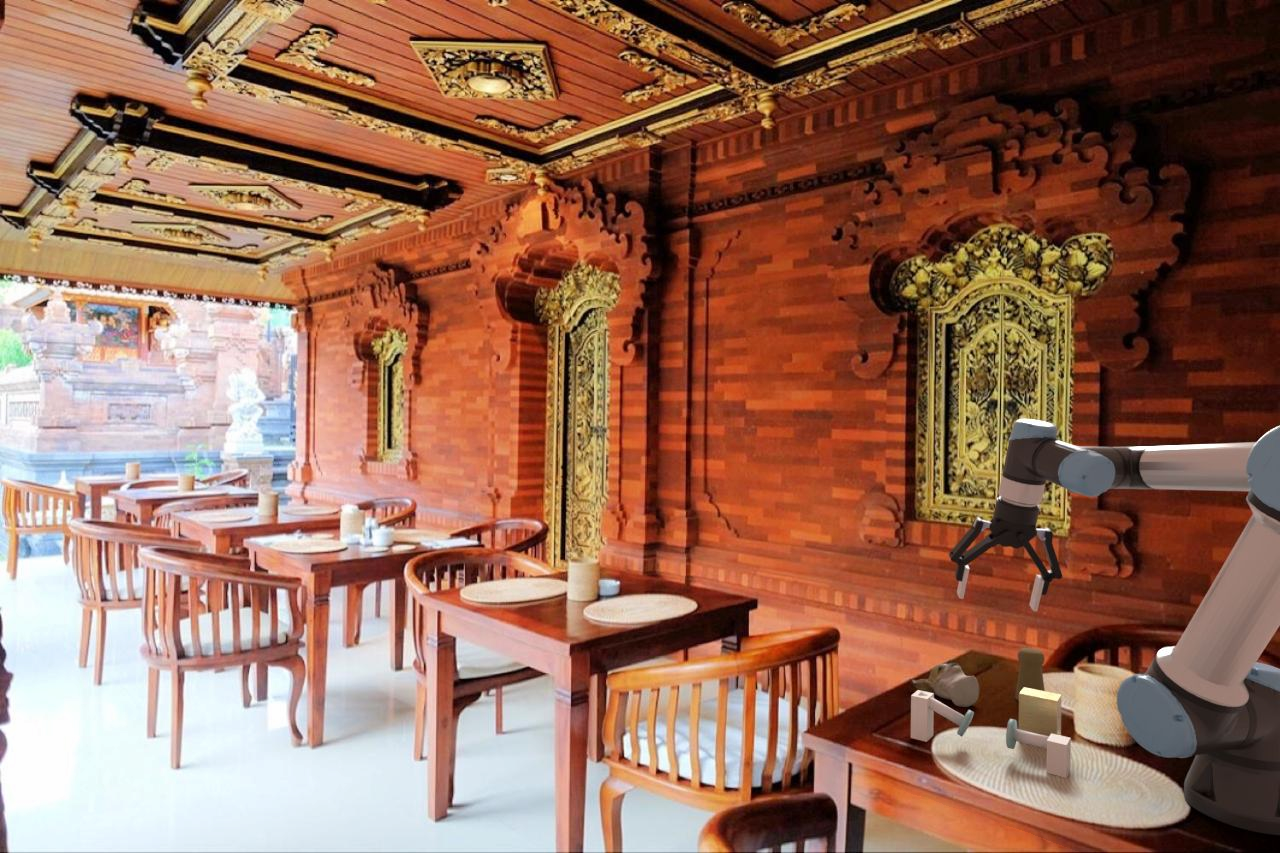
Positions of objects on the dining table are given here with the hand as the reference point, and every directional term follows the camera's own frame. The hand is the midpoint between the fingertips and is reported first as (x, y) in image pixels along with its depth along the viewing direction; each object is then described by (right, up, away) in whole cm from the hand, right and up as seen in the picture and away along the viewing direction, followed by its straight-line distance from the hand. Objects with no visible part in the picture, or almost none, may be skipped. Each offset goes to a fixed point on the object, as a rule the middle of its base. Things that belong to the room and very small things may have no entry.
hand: (996, 602), depth 150 cm
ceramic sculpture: (-3, -25, +16) cm, 30 cm away
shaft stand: (-7, -25, -12) cm, 28 cm away
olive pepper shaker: (+15, -25, +16) cm, 33 cm away
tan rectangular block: (+5, -25, -7) cm, 26 cm away
